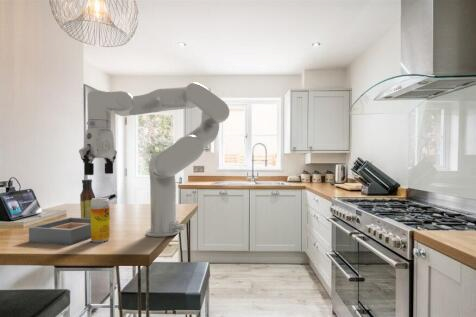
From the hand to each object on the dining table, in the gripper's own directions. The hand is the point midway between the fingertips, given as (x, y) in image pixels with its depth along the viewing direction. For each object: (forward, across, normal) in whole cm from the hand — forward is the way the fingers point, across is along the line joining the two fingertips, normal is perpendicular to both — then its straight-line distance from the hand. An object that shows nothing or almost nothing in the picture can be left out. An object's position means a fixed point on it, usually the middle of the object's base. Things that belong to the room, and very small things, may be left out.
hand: (99, 174), depth 102 cm
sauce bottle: (+24, +24, +27) cm, 43 cm away
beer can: (+24, 0, 0) cm, 24 cm away
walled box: (+24, +2, +15) cm, 28 cm away
